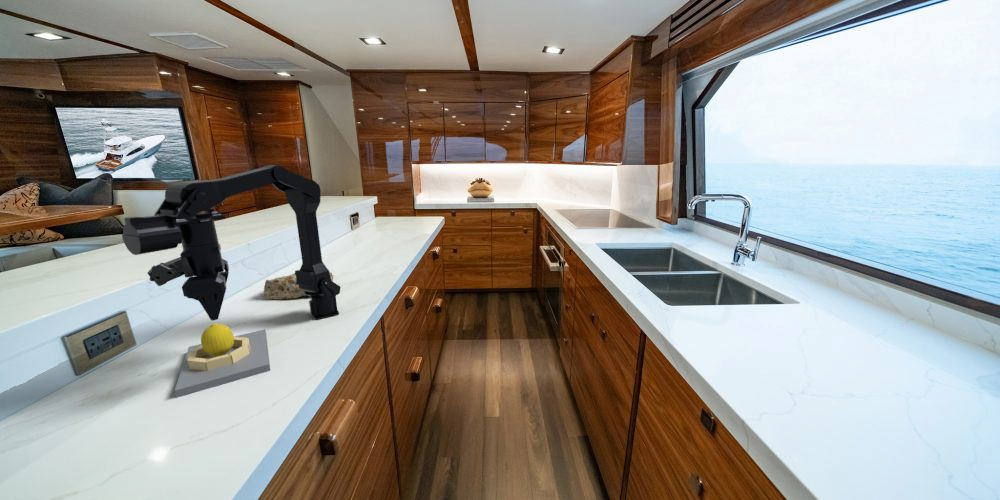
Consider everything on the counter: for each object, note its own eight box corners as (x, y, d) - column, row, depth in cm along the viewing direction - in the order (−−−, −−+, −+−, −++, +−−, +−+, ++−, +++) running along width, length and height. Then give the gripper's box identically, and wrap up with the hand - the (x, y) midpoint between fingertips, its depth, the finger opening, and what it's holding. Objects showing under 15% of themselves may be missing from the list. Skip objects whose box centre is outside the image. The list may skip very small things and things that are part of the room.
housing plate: (266, 334, 88) (264, 322, 88) (270, 370, 73) (267, 355, 72) (190, 352, 80) (187, 339, 79) (176, 397, 64) (172, 381, 63)
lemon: (219, 364, 72) (210, 330, 70) (199, 361, 73) (190, 328, 71) (243, 350, 77) (236, 319, 75) (224, 348, 79) (216, 317, 77)
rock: (259, 306, 109) (254, 275, 109) (282, 299, 124) (278, 272, 124) (324, 296, 112) (320, 266, 111) (340, 290, 126) (336, 264, 126)
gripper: (156, 240, 73) (173, 307, 76) (133, 259, 58) (156, 340, 62) (222, 234, 79) (235, 296, 83) (216, 250, 64) (232, 324, 68)
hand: (216, 312), depth 74 cm, fingers open, 9 cm apart
